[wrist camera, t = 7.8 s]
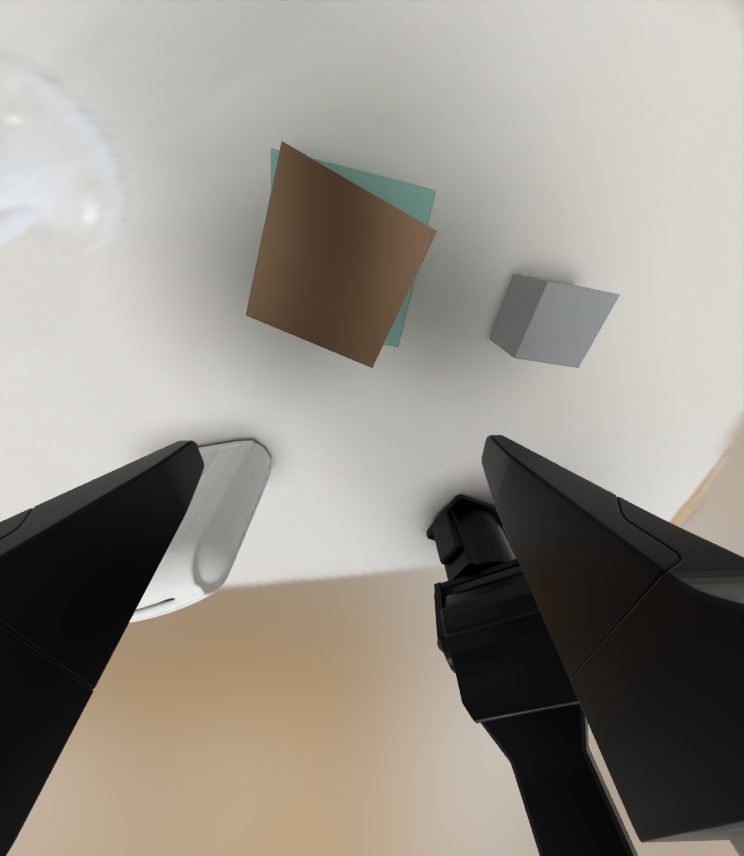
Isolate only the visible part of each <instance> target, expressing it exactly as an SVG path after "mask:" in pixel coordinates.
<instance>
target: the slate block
mask: <svg viewBox="0 0 744 856" xmlns="http://www.w3.org/2000/svg"><path fill="white" fill-rule="evenodd" d="M618 297H619V294H614V293H609V292H604V291H599V290H595V289H590V288H585V287H580V286H575V285H570V284H565V283H559V282H554V281H549V280H543V279H538V278H532V277H527V276H522V275H516V274H514V275H513V278H512V281H511V283H510V286H509V289H508V291H507V294H506V297H505V299H504V302H503V305H502V307H501V310H500V313H499V315H498V318H497V321H496V323H495V326H494V329H493V332H492V334H491V337H490V339H491V340H492V341H493V342H494V343H496V344H497V345H498V346H500V347H501V348H502V349H504V350H505V351H506V352H507V353H509V354H510V355H511V356H513V357H514V358H517V359H524V360H530V361H537V362H543V363H550V364H556V365H563V366H569V367H576V368H578V367H579V366H580V364H581V362H582V360H583V359H584V357H585V355H586V353H587V352H588V350H589V348H590V346H591V345H592V343H593V341H594V339H595V337H596V336H597V334H598V332H599V330H600V329H601V327H602V325H603V323H604V322H605V320H606V318H607V316H608V315H609V313H610V311H611V309H612V308H613V306H614V304H615V302H616V300H617V299H618Z"/></svg>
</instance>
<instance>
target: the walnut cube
mask: <svg viewBox="0 0 744 856" xmlns="http://www.w3.org/2000/svg"><path fill="white" fill-rule="evenodd" d="M436 232H437V231H436V230H434V229H432V228H430V227H429V226H427V225H425V224H424V223H422V222H420V221H418V220H417V219H415V218H413V217H412V216H410V215H408V214H406V213H405V212H403V211H401V210H399V209H398V208H396V207H394V206H393V205H391V204H389V203H387V202H386V201H384V200H382V199H381V198H379V197H377V196H375V195H374V194H372V193H370V192H368V191H367V190H365V189H363V188H362V187H360V186H358V185H356V184H355V183H353V182H351V181H349V180H348V179H346V178H344V177H343V176H341V175H339V174H337V173H336V172H334V171H332V170H331V169H329V168H327V167H325V166H324V165H322V164H320V163H318V162H317V161H315V160H313V159H312V158H310V157H308V156H306V155H305V154H303V153H301V152H299V151H298V150H296V149H294V148H293V147H291V146H289V145H287V144H286V143H284V142H281V147H280V152H279V157H278V161H277V166H276V171H275V176H274V181H273V186H272V191H271V196H270V200H269V205H268V210H267V215H266V220H265V225H264V230H263V235H262V239H261V244H260V249H259V254H258V259H257V264H256V269H255V274H254V278H253V283H252V288H251V293H250V298H249V303H248V308H247V313H246V315H247V316H249V317H251V318H254V319H256V320H259V321H261V322H263V323H266V324H268V325H271V326H273V327H275V328H278V329H280V330H283V331H285V332H287V333H290V334H292V335H295V336H297V337H299V338H302V339H304V340H307V341H309V342H311V343H314V344H316V345H319V346H321V347H323V348H326V349H328V350H330V351H333V352H335V353H338V354H340V355H342V356H345V357H347V358H350V359H352V360H354V361H357V362H359V363H362V364H364V365H366V366H369V367H371V368H373V366H374V363H375V361H376V359H377V357H378V355H379V353H380V351H381V349H382V346H383V344H384V342H385V340H386V338H387V336H388V334H389V332H390V330H391V327H392V325H393V323H394V321H395V319H396V317H397V315H398V313H399V310H400V308H401V306H402V304H403V302H404V300H405V298H406V296H407V293H408V291H409V289H410V287H411V285H412V283H413V281H414V279H415V277H416V274H417V272H418V270H419V268H420V266H421V264H422V262H423V260H424V257H425V255H426V253H427V251H428V249H429V247H430V245H431V243H432V240H433V238H434V236H435V234H436Z"/></svg>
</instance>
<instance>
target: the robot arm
mask: <svg viewBox="0 0 744 856" xmlns="http://www.w3.org/2000/svg"><path fill="white" fill-rule="evenodd" d="M482 465H483V468H484V472H485V475H486V478H487V482H488V485H489V489H490V492H491V495H492V499H493V502H494V505H495V506H493V505H490V504H487V503H484V502H481V501H478V500H475V499H472V498H469V497H466V496H462V495H460V496H457V497H456V498H455V499H454V500H453V502H452V503H451V504H450V505H449V506H448V507H447V509H446V510H445V511H444V512H443V513H442V515H441V516H440V517H439V518H438V519H437V521H436V522H435V523H434V524H433V525H432V527H431V528H430V529H429V530H428V531H427V538H428V539H431V540H435V542H436V546H437V550H438V554H439V558H440V561H441V564H444V566H445V570H446V574H447V578H448V581H446V582H443V583H441V582H439V583H436V584H434V587H435V594H434V599H435V612H436V626H437V637H438V640H437V644H438V647H439V649H440V650H441V651H442V652H443V653H444V655H445V657H446V659H447V662H448V664H449V666H450V668H451V669H452V670H453V672H454V673H456V676H457V681H458V685H459V689H460V694H461V699H462V703H463V705H464V706H465V708H466V709H467V711H468V713H469V714H470V716H471V717H472V719H473V720H474V721H475V722H476V723H481V724H482V725H483V727H484V728H485V729H486V731H487V732H488V733H489V735H490V736H491V737H492V738H493V740H494V741H495V743H496V744H497V745H498V746H499V748H500V749H501V750H502V752H503V753H504V754H505V756H506V757H507V758H508V760H509V761H510V763H511V766H512V768H513V771H514V774H515V777H516V781H517V784H518V787H519V790H520V793H521V797H522V800H523V803H524V806H525V809H526V813H527V816H528V819H529V822H530V826H531V828H532V832H533V835H534V838H535V842H536V845H537V848H538V851H539V854H540V856H638V854H637V852H636V850H635V848H634V846H633V843H632V841H631V839H630V837H629V835H628V832H627V830H626V828H625V826H624V823H623V821H622V819H621V817H620V815H619V812H618V810H617V808H616V806H615V804H614V802H613V799H612V797H611V795H610V793H609V790H608V788H607V786H606V784H605V782H604V780H603V777H602V775H601V773H600V771H599V769H598V766H597V764H596V762H595V760H594V757H593V755H592V753H591V751H590V748H589V743H588V724H589V726H590V728H591V731H592V733H593V735H594V737H595V740H596V742H597V745H598V747H599V749H600V751H601V754H602V756H603V759H604V761H605V763H606V765H607V768H608V770H609V772H610V775H611V777H612V779H613V782H614V784H615V786H616V789H617V791H618V793H619V796H620V798H621V800H622V803H623V805H624V807H625V810H626V812H627V814H628V816H629V819H630V821H631V823H632V825H633V828H634V830H635V832H636V834H637V836H638V838H639V840H640V841H641V842H672V841H705V840H707V841H708V840H730V841H731V843H732V844H733V846H734V848H735V849H736V851H737V853H738V854H739V856H744V557H742V556H739V555H737V554H735V553H733V552H731V551H729V550H727V549H725V548H722V547H720V546H718V545H716V544H714V543H712V542H710V541H707V540H705V539H703V538H701V537H699V536H697V535H695V534H693V533H690V532H688V531H686V530H684V529H682V528H680V527H678V526H676V525H674V524H672V523H670V522H667V521H665V520H663V519H661V518H659V517H657V516H655V515H653V514H651V513H649V512H647V511H645V510H644V509H642V508H640V507H638V506H636V505H634V504H632V503H630V502H628V501H626V500H624V499H622V498H621V497H617V496H616V495H615V494H613V493H611V492H609V491H607V490H605V489H603V488H601V487H599V486H598V485H596V484H594V483H592V482H590V481H588V480H586V479H584V478H582V477H580V476H579V475H577V474H575V473H573V472H571V471H569V470H567V469H565V468H563V467H561V466H559V465H558V464H556V463H554V462H552V461H550V460H548V459H546V458H544V457H542V456H540V455H539V454H537V453H535V452H533V451H531V450H529V449H527V448H525V447H523V446H521V445H520V444H518V443H516V442H514V441H512V440H510V439H508V438H506V437H504V436H502V435H490V436H488V437H487V439H486V442H485V446H484V450H483V455H482ZM203 470H204V461H203V458H202V456H201V453H200V451H199V448H198V446H197V444H196V443H195V442H194V441H178V442H176V443H173V444H171V445H169V446H167V447H165V448H162V449H160V450H158V451H156V452H154V453H151V454H149V455H147V456H145V457H143V458H140V459H138V460H136V461H134V462H132V463H129V464H127V465H125V466H123V467H121V468H118V469H116V470H114V471H112V472H110V473H107V474H105V475H103V476H101V477H99V478H96V479H94V480H92V481H90V482H88V483H85V484H83V485H81V486H79V487H77V488H74V489H72V490H70V491H68V492H66V493H63V494H61V495H59V496H57V497H55V498H52V499H50V500H48V501H46V502H44V503H41V504H39V505H37V506H35V507H34V508H31V509H28V510H26V511H24V512H21V513H19V514H17V515H15V516H13V517H10V518H8V519H6V520H4V521H1V522H0V856H6V855H7V853H8V852H9V850H10V848H11V847H12V845H13V843H14V842H15V840H16V838H17V836H18V834H19V832H20V830H21V828H22V827H23V825H24V823H25V821H26V819H27V817H28V815H29V813H30V811H31V809H32V807H33V806H34V804H35V802H36V800H37V798H38V796H39V794H40V792H41V790H42V788H43V786H44V785H45V782H46V780H47V779H48V777H49V775H50V773H51V771H52V769H53V767H54V765H55V764H56V762H57V760H58V758H59V756H60V754H61V752H62V750H63V748H64V746H65V744H66V743H67V741H68V739H69V736H70V735H71V733H72V731H73V729H74V727H75V725H76V723H77V721H78V719H79V718H80V716H81V714H82V712H83V710H84V708H85V706H86V704H87V702H88V701H89V699H90V697H91V695H92V693H93V690H92V689H94V688H95V687H96V685H97V683H98V680H99V679H100V677H101V675H102V673H103V671H104V670H105V668H106V666H107V664H108V662H109V660H110V658H111V656H112V654H113V652H114V650H115V649H116V647H117V645H118V643H119V641H120V639H121V637H122V635H123V633H124V631H125V629H126V628H127V626H128V624H129V622H130V620H131V618H132V616H133V614H134V612H135V610H136V608H137V607H138V605H139V603H140V601H141V599H142V597H143V595H144V593H145V591H146V589H147V587H148V586H149V584H150V582H151V580H152V578H153V576H154V574H155V572H156V570H157V568H158V566H159V565H160V563H161V561H162V559H163V557H164V555H165V553H166V551H167V549H168V547H169V546H170V544H171V542H172V540H173V538H174V536H175V534H176V532H177V530H178V528H179V526H180V525H181V523H182V521H183V519H184V517H185V515H186V513H187V510H188V508H189V506H190V503H191V501H192V498H193V496H194V493H195V491H196V488H197V485H198V483H199V480H200V478H201V475H202V473H203ZM503 526H504V527H503Z"/></svg>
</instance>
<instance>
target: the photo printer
mask: <svg viewBox="0 0 744 856" xmlns="http://www.w3.org/2000/svg"><path fill="white" fill-rule="evenodd" d="M199 451H200V453H201V456H202V458H203V461H204V470H203V473H202V475H201V478H200V480H199V483H198V485H197V488H196V491H195V493H194V496H193V498H192V501H191V503H190V506H189V508H188V510H187V513H186V515H185V517H184V519H183V521H182V523H181V525H180V526H179V528H178V530H177V532H176V534H175V536H174V538H173V540H172V542H171V544H170V546H169V547H168V549H167V551H166V553H165V555H164V557H163V559H162V561H161V563H160V565H159V566H158V568H157V570H156V572H155V574H154V576H153V578H152V580H151V582H150V584H149V586H148V587H147V589H146V591H145V593H144V595H143V597H142V599H141V601H140V603H139V605H138V607H137V608H136V610H135V612H134V614H133V616H132V618H131V620H130V622H135V621H140V620H144V619H149V618H153V617H157V616H160V615H164V614H167V613H170V612H173V611H175V610H178V609H181V608H184V607H186V606H189V605H191V604H194V603H195V602H198V601H200V600H202V599H204V598H206V597H208V596H209V595H211V594H213V593H215V592H216V591H217V590H218V589H219V588H220V587H221V586H222V585H223V584H224V582H225V581H226V579H227V577H228V575H229V573H230V571H231V568H232V566H233V563H234V561H235V559H236V556H237V554H238V551H239V549H240V547H241V544H242V542H243V539H244V537H245V535H246V532H247V530H248V527H249V525H250V523H251V520H252V518H253V515H254V513H255V510H256V508H257V506H258V503H259V501H260V498H261V496H262V493H263V491H264V488H265V486H266V483H267V481H268V478H269V475H270V471H269V468H270V464H271V460H270V456H269V454H268V452H267V451H266V450H265V449H264V448H263V447H262V446H261V445H259V444H258V443H255V442H254V441H236V442H230V443H223V444H218V445H211V446H205V447H200V448H199Z"/></svg>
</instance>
